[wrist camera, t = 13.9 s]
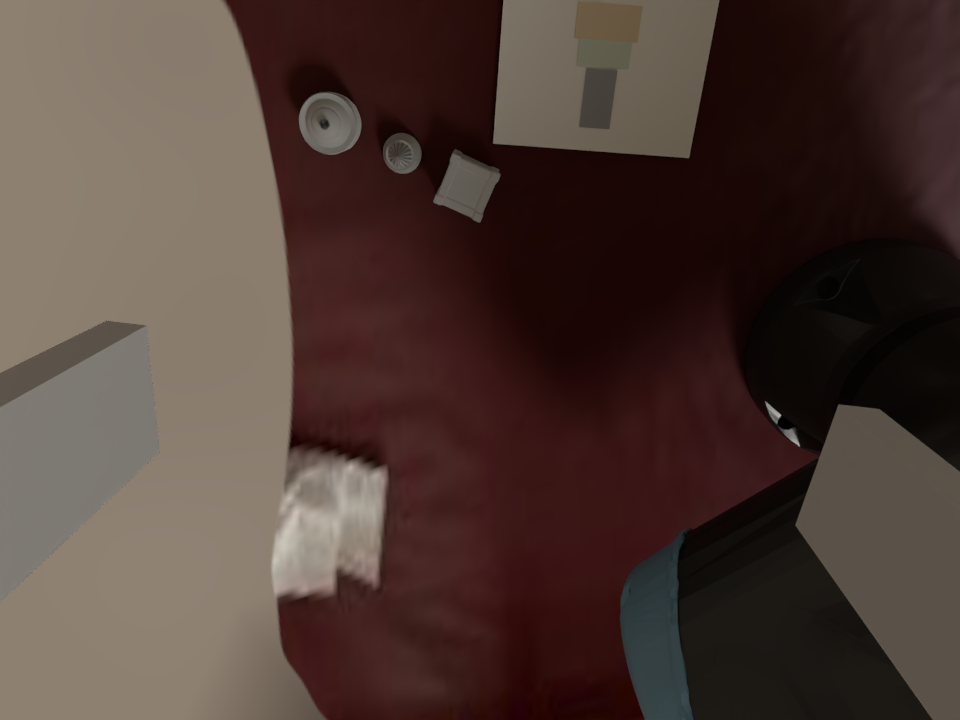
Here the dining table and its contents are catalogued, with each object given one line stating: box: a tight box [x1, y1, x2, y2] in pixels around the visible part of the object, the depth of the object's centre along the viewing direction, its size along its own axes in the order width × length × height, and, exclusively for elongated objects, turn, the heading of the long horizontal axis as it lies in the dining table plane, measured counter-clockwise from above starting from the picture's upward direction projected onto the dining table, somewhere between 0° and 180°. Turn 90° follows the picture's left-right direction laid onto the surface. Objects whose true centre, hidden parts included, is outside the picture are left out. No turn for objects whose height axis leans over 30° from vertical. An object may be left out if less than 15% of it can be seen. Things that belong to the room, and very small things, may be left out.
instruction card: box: [493, 0, 719, 158], centre depth 35 cm, size 12×9×1 cm
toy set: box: [299, 92, 501, 223], centre depth 36 cm, size 12×3×4 cm, turn 66°
